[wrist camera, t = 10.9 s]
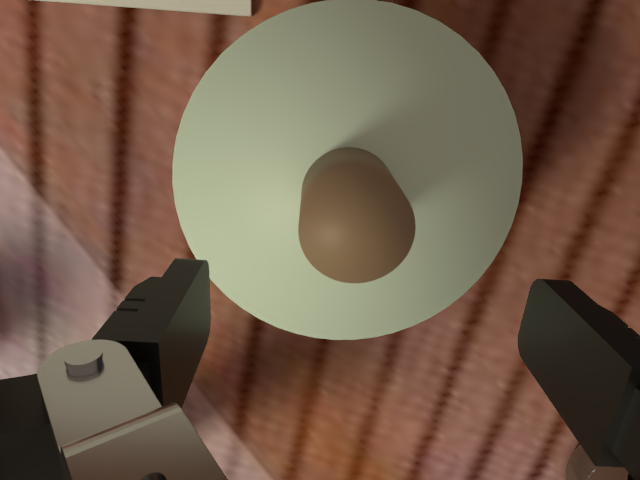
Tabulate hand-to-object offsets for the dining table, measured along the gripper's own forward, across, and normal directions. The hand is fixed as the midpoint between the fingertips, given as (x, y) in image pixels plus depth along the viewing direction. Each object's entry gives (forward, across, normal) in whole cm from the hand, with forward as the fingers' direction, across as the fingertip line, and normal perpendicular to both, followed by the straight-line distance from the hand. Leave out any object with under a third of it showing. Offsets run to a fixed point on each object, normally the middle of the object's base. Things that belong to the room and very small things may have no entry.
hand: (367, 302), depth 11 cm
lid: (+10, 0, 0) cm, 10 cm away
